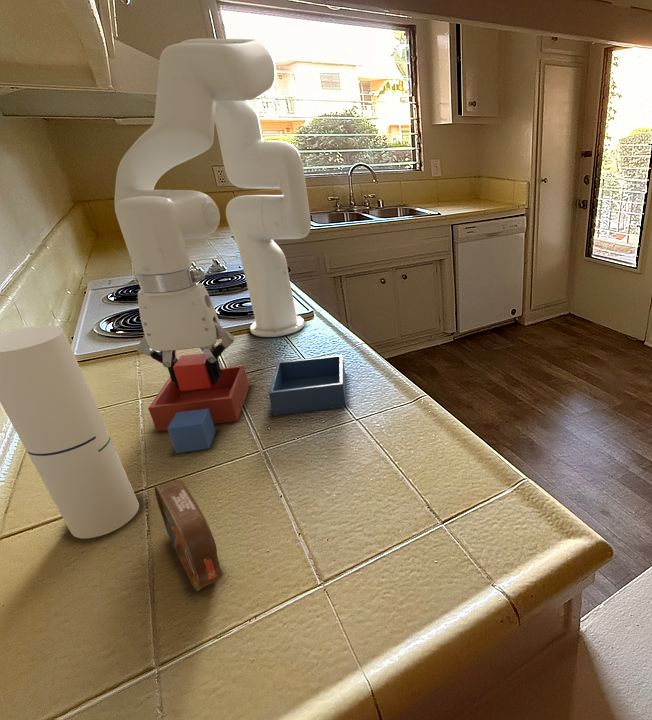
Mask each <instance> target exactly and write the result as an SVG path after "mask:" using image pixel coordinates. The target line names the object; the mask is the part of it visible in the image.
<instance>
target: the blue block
mask: <svg viewBox="0 0 652 720" xmlns="http://www.w3.org/2000/svg"><path fill="white" fill-rule="evenodd" d="M167 429H168V430H167V432H168V435H169V437H170V440H171V443H172V445H173V448H174V451H175V454H180V453H181V454H182V453H188V452H193V451H195V452H196V451H200V450H201V451H202V450H209V449H210V447H211V445H212V442H213V440H214V437H215V435H216V432H217V431H216V428H215V424H213V421H212V418H211V415H210V411H209V408H208V409H200V410H192V411H184V412H177V413H176V414H175V416H174V418H173V420H172V421H171V423H170V425H169V426H168V428H167Z"/></svg>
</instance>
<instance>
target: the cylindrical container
mask: <svg viewBox="0 0 652 720" xmlns="http://www.w3.org/2000/svg"><path fill="white" fill-rule="evenodd" d="M0 405H1V406H2V408H3V410H4V412H5V414H6V416H7V417H8V420H9V421H10V423H11V425H12V427H13V428H14V430H15V433H16V434H17V436H18V438H19V439H20V442H21V443H22V445H23V447H24V449H25V450H26V452H27V455H28V457H29V458H30V460H31V462H32V464H33V465H34V468H35V469H36V472H37V473H38V475H39V477H40V479H41V480H42V482H43V484H44V486H45V488H46V490H47V492H48V493H49V495H50V497H51V499H52V501H53V503H54V504H55V506H56V508H57V510H58V511H59V514H60V516H61V518H62V519H63V521H64V523H65V525H66V527H67V528H68V530H69V532H70V534H71V535H72V536H73V537H75V538H76V539H77V538H78V539H94V538H98V537H101V536H104V535H107V534H111V533H112V532H115V531H116V530H118V529H120V528H122V527H124V525H126V524H127V523H128V522H130V521H131V520H132V519H133V518H134V517H135V516H136V514H137V513H138V511H139V508H140V502H139V501H138V498H137V496H136V494H135V491H134V489H133V487H132V485H131V482H130V480H129V477H128V475H127V472H126V471H125V468H124V466H123V463H122V461H121V459H120V456H119V454H118V452H117V449H116V447H115V445H114V442H113V439H112V437H111V435H110V433H109V430H108V428H107V426H106V424H105V422H104V419H103V417H102V415H101V413H100V411H99V408H98V406H97V404H96V401H95V399H94V397H93V394H92V392H91V390H90V387H89V385H88V383H87V380H86V377H85V376H84V374H83V371H82V368H81V367H80V364H79V362H78V359H77V357H76V355H75V353H74V350H73V348H72V346H71V344H70V341H69V339H68V336H67V334H66V332H65V329H64V328H63V327H62V326H59V325H52V324H51V325H49V324H45V325H34V326H27V327H20V328H15V329H11V330H6V331H3V332H0Z"/></svg>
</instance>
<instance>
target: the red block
mask: <svg viewBox="0 0 652 720" xmlns="http://www.w3.org/2000/svg"><path fill="white" fill-rule="evenodd" d="M177 360H178V361H177V362H176V363H175V365H174V366H173V369H174V372H175V375H176V378H177V381H178V385H179V388H180V391H186V390H195V389H203V388H210V387H211V386H212V383H211V381H210V378H209V374H208V371H207V367H206V363H207V358H206V357H205V355H204V353H203V352H202V353H193V354H184V355H180V356H179V358H177Z"/></svg>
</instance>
